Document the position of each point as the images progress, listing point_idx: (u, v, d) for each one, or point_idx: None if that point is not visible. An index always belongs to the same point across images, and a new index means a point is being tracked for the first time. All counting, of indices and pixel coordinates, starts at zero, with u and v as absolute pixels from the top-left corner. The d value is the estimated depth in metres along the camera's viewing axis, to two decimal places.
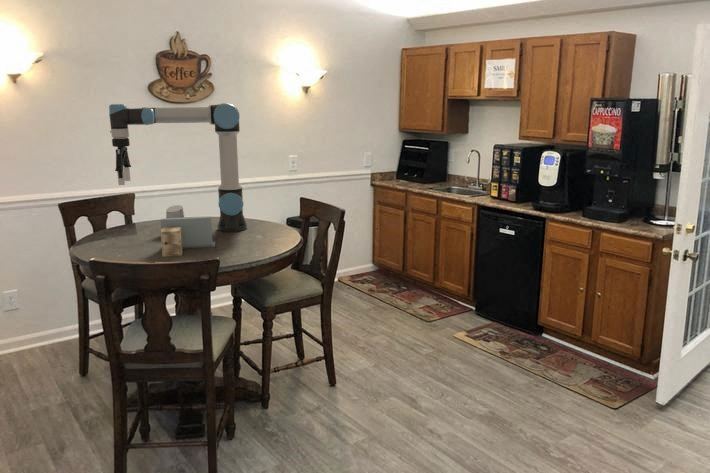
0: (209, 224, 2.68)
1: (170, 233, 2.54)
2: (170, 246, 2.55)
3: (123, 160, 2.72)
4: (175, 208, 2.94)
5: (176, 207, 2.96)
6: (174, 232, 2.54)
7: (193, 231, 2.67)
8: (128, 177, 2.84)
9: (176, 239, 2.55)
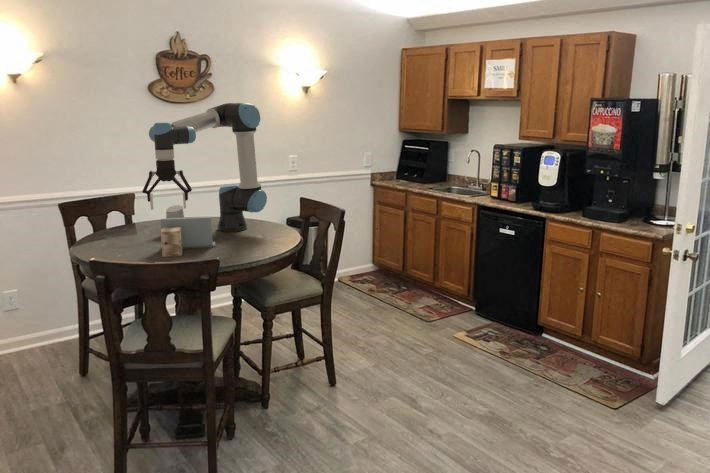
0: (209, 224, 2.68)
1: (170, 233, 2.54)
2: (170, 246, 2.55)
3: (156, 183, 2.49)
4: (175, 208, 2.94)
5: (176, 207, 2.96)
6: (174, 232, 2.54)
7: (193, 231, 2.67)
8: None
9: (176, 239, 2.55)
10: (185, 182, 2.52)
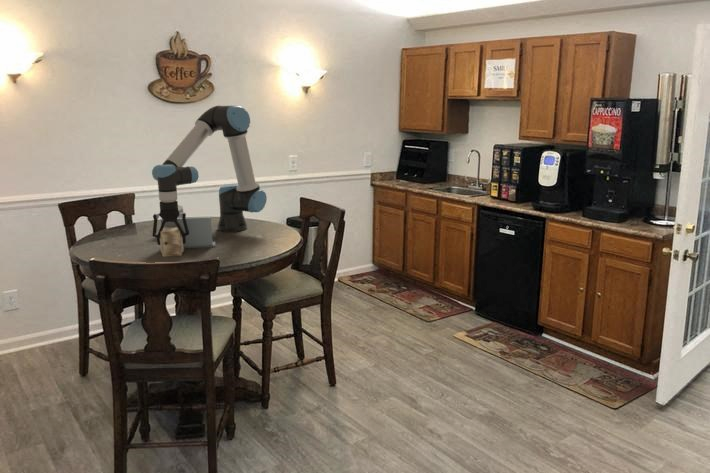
0: (209, 224, 2.68)
1: (170, 233, 2.54)
2: (170, 246, 2.55)
3: (163, 225, 2.54)
4: None
5: None
6: (174, 232, 2.54)
7: (193, 231, 2.67)
8: (181, 248, 2.58)
9: (176, 239, 2.55)
10: (185, 225, 2.56)
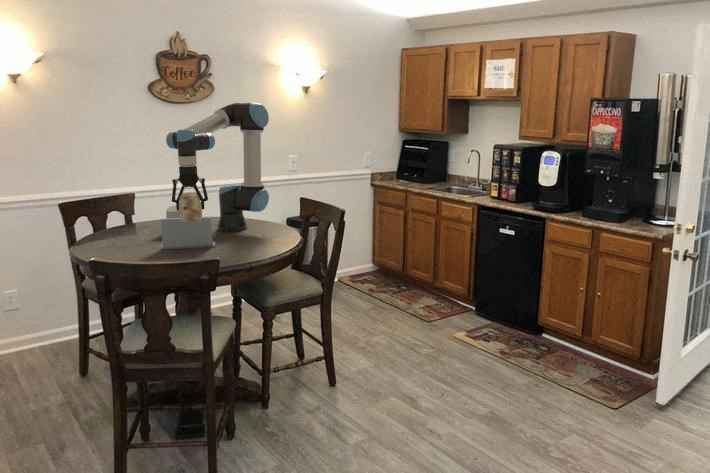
0: (209, 224, 2.68)
1: (189, 198, 2.54)
2: (189, 211, 2.55)
3: (182, 191, 2.54)
4: (175, 208, 2.94)
5: None
6: (193, 197, 2.54)
7: (193, 231, 2.67)
8: (200, 213, 2.58)
9: (195, 204, 2.55)
10: (204, 191, 2.56)
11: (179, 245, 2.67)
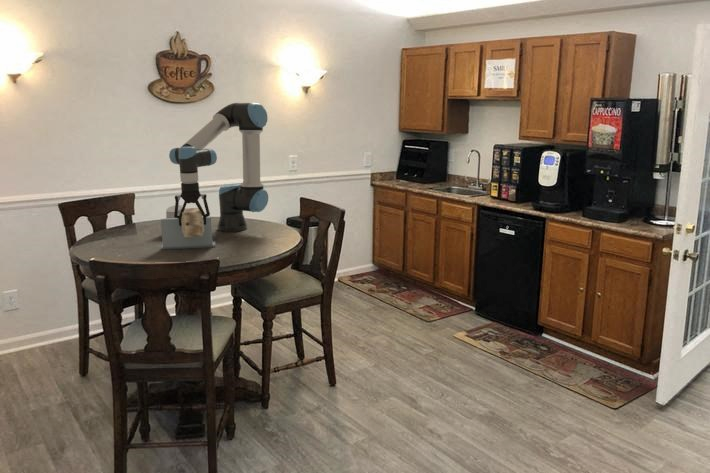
0: (209, 224, 2.68)
1: (191, 214, 2.58)
2: (191, 227, 2.59)
3: (184, 207, 2.58)
4: None
5: None
6: (195, 213, 2.58)
7: None
8: (202, 228, 2.63)
9: (197, 220, 2.59)
10: (206, 206, 2.60)
11: (179, 245, 2.67)
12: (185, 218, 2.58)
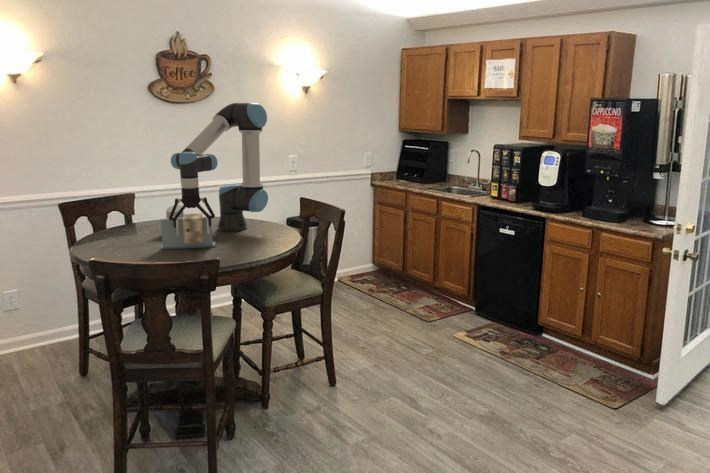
0: None
1: (191, 221, 2.60)
2: (192, 233, 2.61)
3: (182, 210, 2.60)
4: None
5: (176, 207, 2.96)
6: (196, 219, 2.60)
7: None
8: (207, 230, 2.64)
9: (197, 226, 2.61)
10: (209, 209, 2.62)
11: (179, 245, 2.67)
12: (185, 224, 2.59)
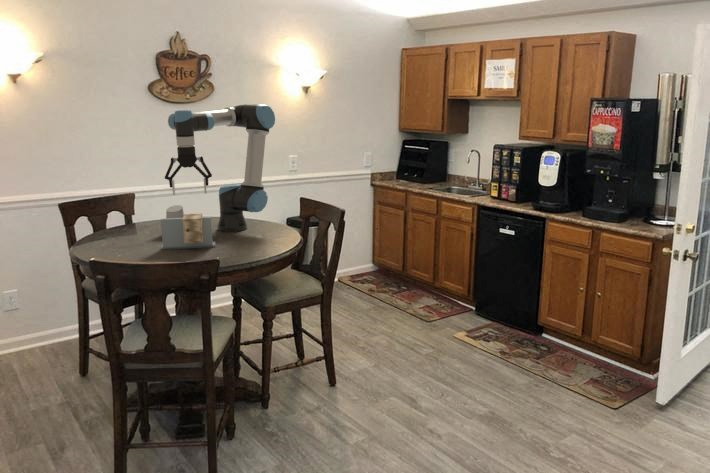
0: (209, 224, 2.68)
1: (191, 221, 2.60)
2: (192, 233, 2.61)
3: (178, 169, 2.57)
4: (175, 208, 2.94)
5: (176, 207, 2.96)
6: (196, 219, 2.60)
7: None
8: (204, 190, 2.62)
9: (197, 226, 2.61)
10: (206, 168, 2.60)
11: (179, 245, 2.67)
12: (185, 224, 2.59)
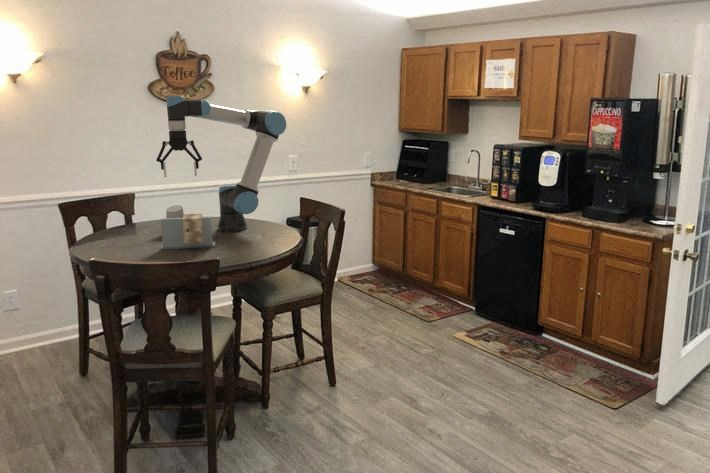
0: (209, 224, 2.68)
1: (191, 221, 2.60)
2: (192, 233, 2.61)
3: (169, 152, 2.68)
4: (175, 208, 2.94)
5: (176, 207, 2.96)
6: (196, 219, 2.60)
7: None
8: None
9: (197, 226, 2.61)
10: (196, 151, 2.70)
11: (179, 245, 2.67)
12: (185, 224, 2.59)
